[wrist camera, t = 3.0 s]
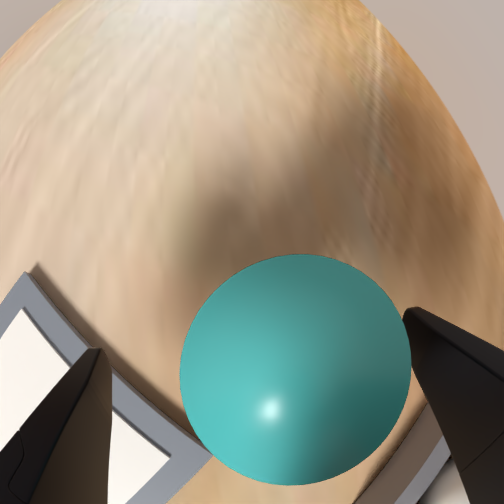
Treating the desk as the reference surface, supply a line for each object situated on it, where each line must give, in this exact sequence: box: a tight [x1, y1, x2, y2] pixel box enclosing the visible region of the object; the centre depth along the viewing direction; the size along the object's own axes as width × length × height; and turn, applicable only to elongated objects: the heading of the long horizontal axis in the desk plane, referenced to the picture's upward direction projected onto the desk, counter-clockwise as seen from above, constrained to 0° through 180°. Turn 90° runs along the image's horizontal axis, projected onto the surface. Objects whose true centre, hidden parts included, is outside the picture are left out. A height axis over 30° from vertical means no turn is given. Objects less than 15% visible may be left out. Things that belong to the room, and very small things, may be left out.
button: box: [419, 458, 470, 504], centre depth 10 cm, size 4×4×4 cm
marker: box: [180, 254, 411, 485], centre depth 10 cm, size 4×4×12 cm
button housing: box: [354, 403, 451, 504], centre depth 13 cm, size 8×8×3 cm
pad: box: [0, 272, 213, 504], centre depth 12 cm, size 14×12×1 cm
